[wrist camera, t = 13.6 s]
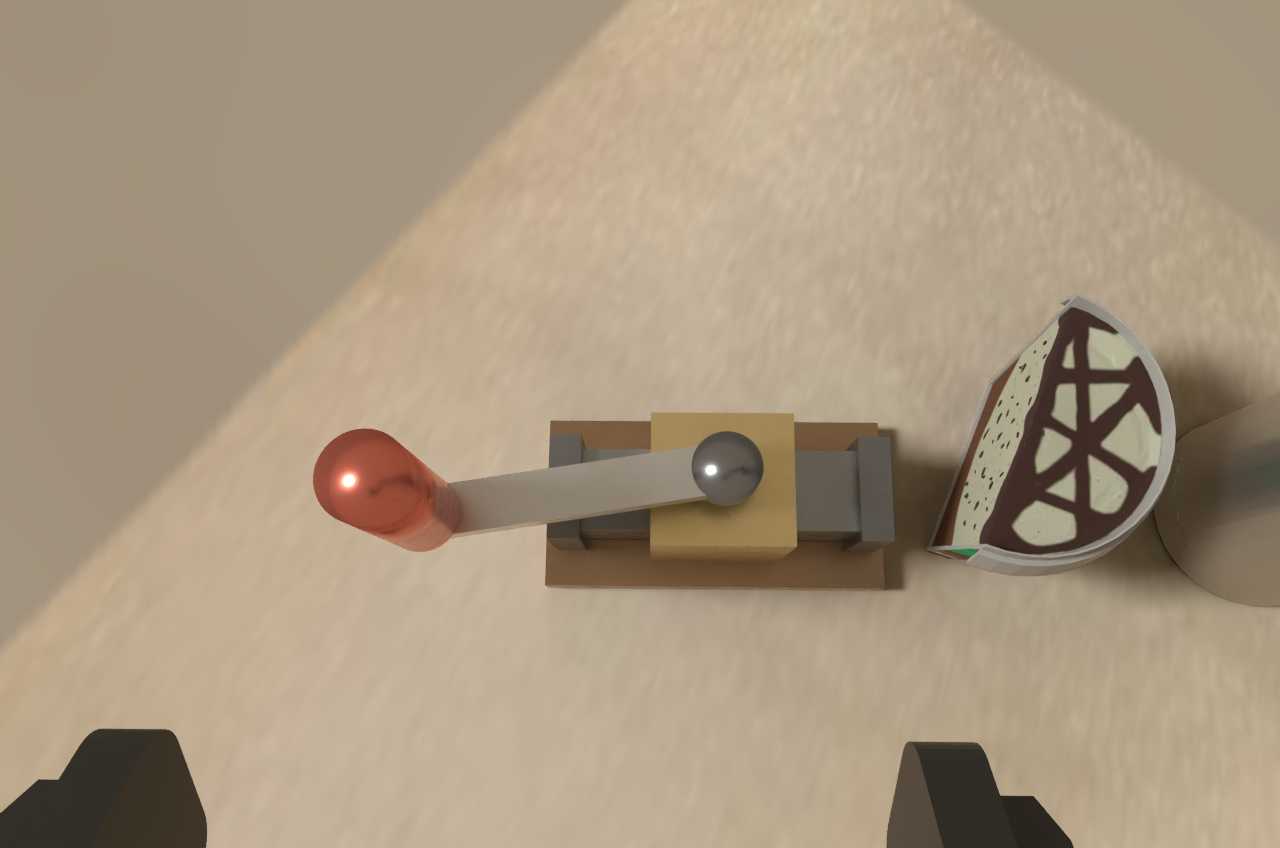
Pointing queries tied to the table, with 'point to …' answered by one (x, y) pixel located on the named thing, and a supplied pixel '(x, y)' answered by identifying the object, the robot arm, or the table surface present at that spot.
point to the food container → (1061, 450)
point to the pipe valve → (735, 510)
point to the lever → (518, 488)
